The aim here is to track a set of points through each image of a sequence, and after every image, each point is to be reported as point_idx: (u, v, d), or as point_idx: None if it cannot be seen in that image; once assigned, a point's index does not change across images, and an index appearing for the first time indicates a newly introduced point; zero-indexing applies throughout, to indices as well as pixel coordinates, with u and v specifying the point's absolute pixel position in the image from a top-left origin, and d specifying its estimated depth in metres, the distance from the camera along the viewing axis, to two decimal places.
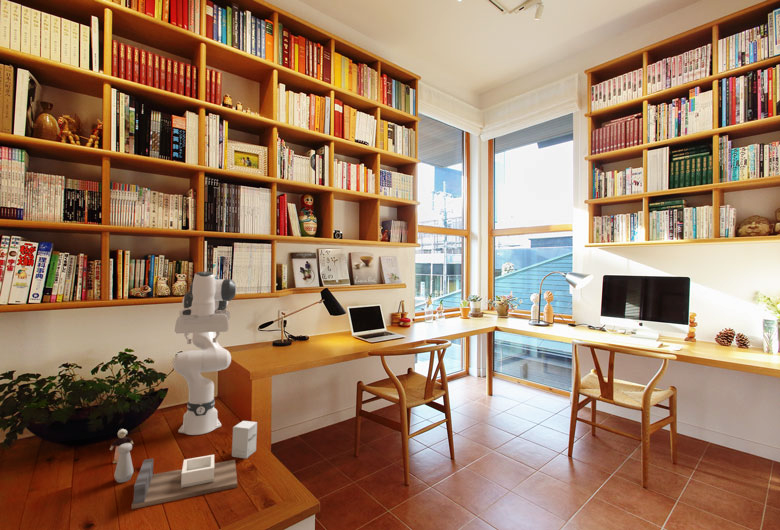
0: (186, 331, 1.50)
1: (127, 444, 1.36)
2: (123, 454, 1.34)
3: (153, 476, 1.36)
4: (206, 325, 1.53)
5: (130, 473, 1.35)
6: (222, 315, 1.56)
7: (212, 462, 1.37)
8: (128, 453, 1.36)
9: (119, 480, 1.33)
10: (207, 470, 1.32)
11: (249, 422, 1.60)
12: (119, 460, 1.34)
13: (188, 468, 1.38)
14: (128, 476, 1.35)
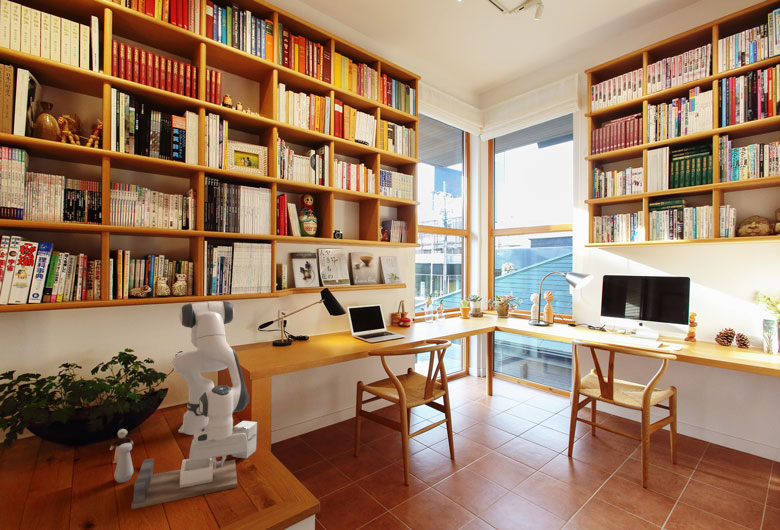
0: (201, 457, 1.35)
1: (127, 444, 1.36)
2: (123, 454, 1.34)
3: (153, 476, 1.36)
4: (223, 448, 1.38)
5: (130, 473, 1.35)
6: (241, 434, 1.41)
7: (211, 462, 1.36)
8: (128, 453, 1.36)
9: (119, 480, 1.33)
10: (205, 470, 1.32)
11: (249, 422, 1.60)
12: (119, 460, 1.34)
13: (187, 468, 1.38)
14: (128, 476, 1.35)
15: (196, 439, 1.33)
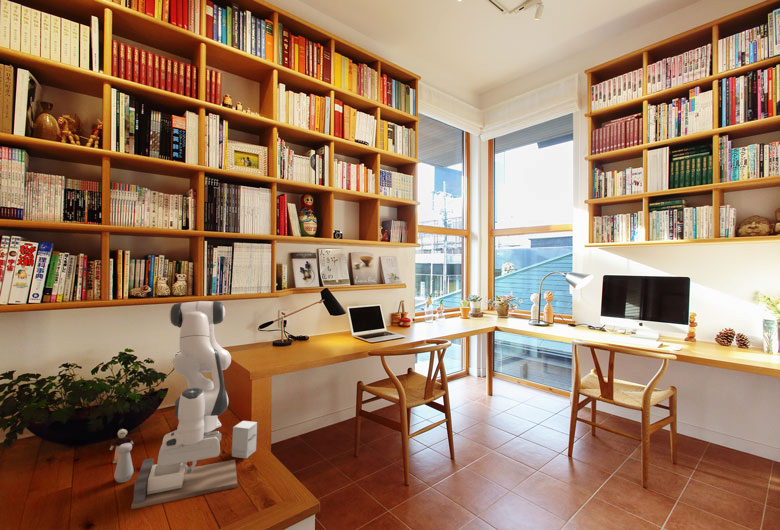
0: (171, 463, 1.30)
1: (127, 444, 1.36)
2: (123, 454, 1.34)
3: None
4: (194, 453, 1.34)
5: (130, 473, 1.35)
6: (212, 439, 1.36)
7: (181, 467, 1.32)
8: (128, 453, 1.36)
9: (119, 480, 1.33)
10: (175, 476, 1.28)
11: (249, 422, 1.60)
12: (119, 460, 1.34)
13: (157, 474, 1.33)
14: (128, 476, 1.35)
15: (164, 444, 1.28)
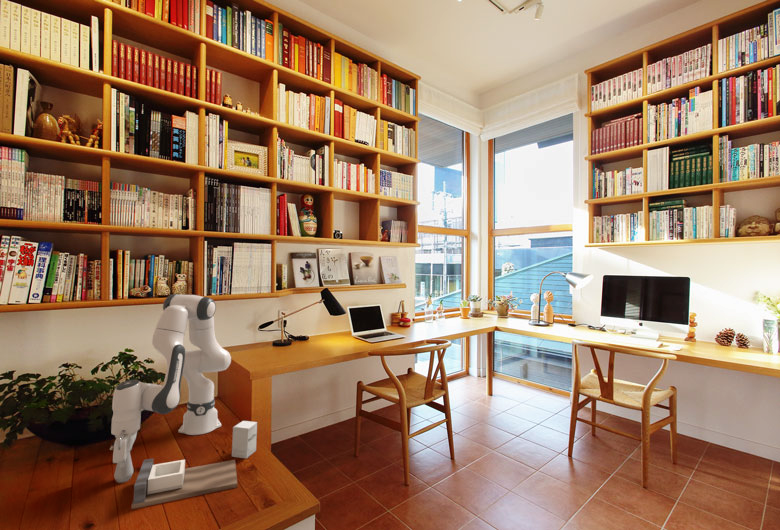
0: None
1: None
2: None
3: None
4: None
5: (130, 473, 1.35)
6: (115, 441, 1.29)
7: (181, 467, 1.32)
8: None
9: (119, 480, 1.33)
10: (175, 476, 1.28)
11: (249, 422, 1.60)
12: None
13: (157, 474, 1.33)
14: (128, 476, 1.35)
15: None
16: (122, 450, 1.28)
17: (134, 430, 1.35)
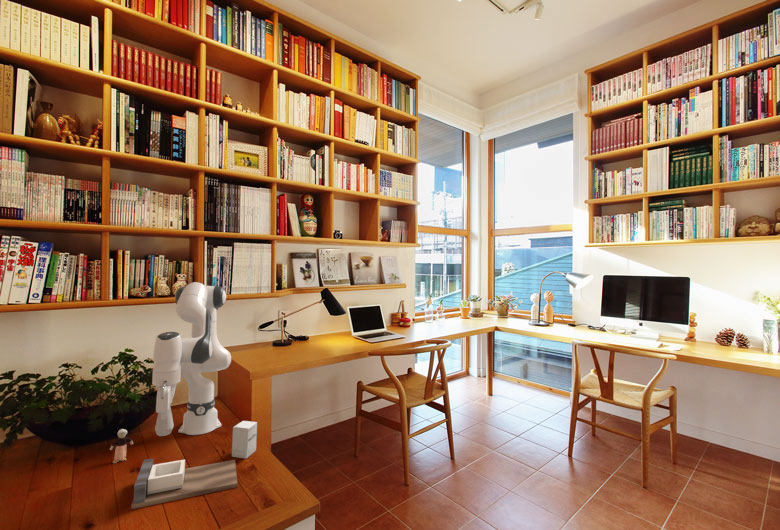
0: None
1: None
2: None
3: None
4: None
5: (171, 427, 1.31)
6: None
7: (181, 467, 1.32)
8: None
9: (160, 433, 1.29)
10: (175, 476, 1.28)
11: (249, 422, 1.60)
12: (160, 413, 1.30)
13: (157, 474, 1.33)
14: (169, 429, 1.31)
15: None
16: (165, 399, 1.24)
17: (175, 382, 1.31)
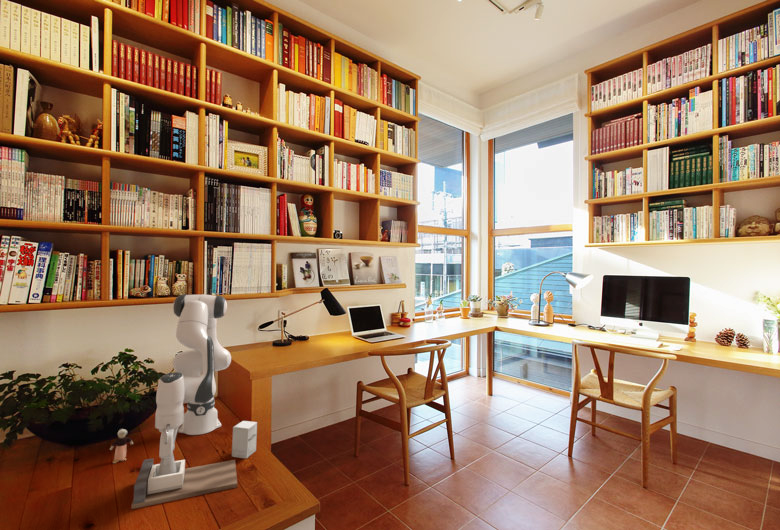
0: None
1: None
2: None
3: None
4: None
5: None
6: (161, 435, 1.24)
7: (181, 467, 1.32)
8: None
9: None
10: (175, 476, 1.28)
11: (249, 422, 1.60)
12: (163, 460, 1.29)
13: (157, 474, 1.33)
14: None
15: None
16: (168, 444, 1.23)
17: (178, 424, 1.30)
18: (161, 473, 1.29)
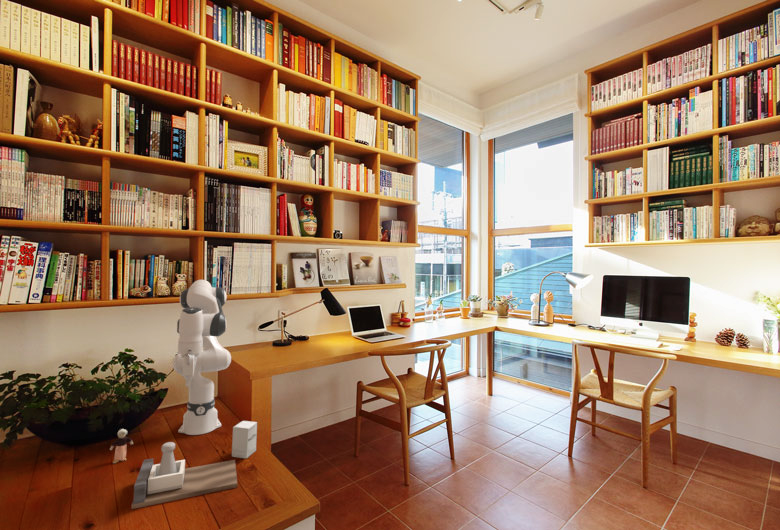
0: None
1: (170, 443, 1.32)
2: (167, 453, 1.30)
3: None
4: None
5: None
6: (184, 357, 1.41)
7: (181, 467, 1.32)
8: (172, 452, 1.32)
9: None
10: (175, 476, 1.28)
11: (249, 422, 1.60)
12: (163, 460, 1.30)
13: (157, 474, 1.33)
14: None
15: None
16: (191, 365, 1.39)
17: (198, 351, 1.47)
18: (161, 473, 1.29)
